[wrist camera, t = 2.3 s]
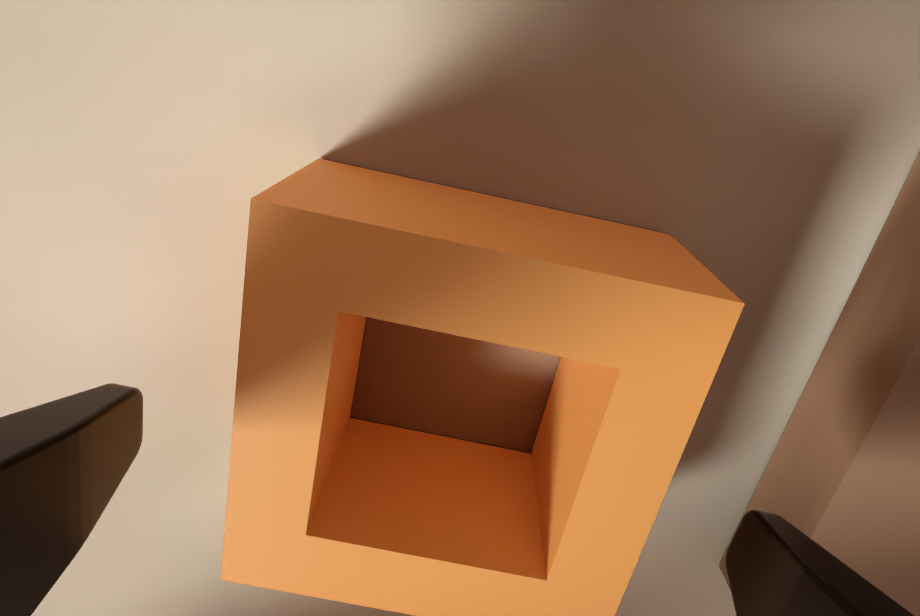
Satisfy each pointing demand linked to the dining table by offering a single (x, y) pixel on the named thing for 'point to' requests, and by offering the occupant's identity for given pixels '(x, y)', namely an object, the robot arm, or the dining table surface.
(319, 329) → the orange square ring
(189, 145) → the dining table surface
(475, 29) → the dining table surface
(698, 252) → the dining table surface
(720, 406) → the dining table surface
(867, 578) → the brown peg board
